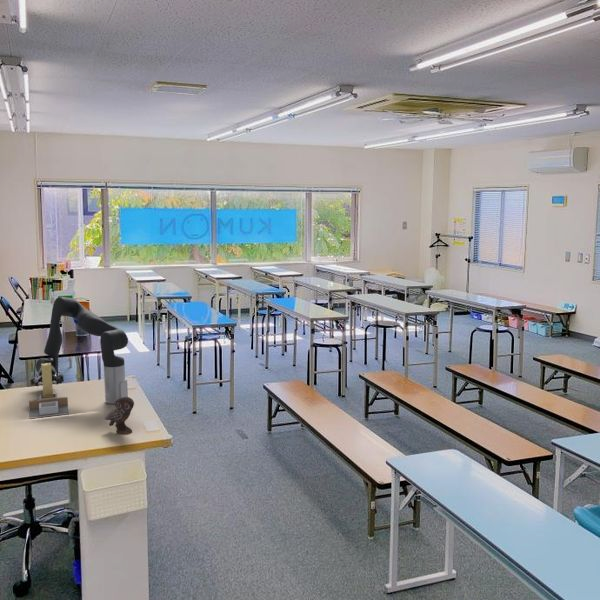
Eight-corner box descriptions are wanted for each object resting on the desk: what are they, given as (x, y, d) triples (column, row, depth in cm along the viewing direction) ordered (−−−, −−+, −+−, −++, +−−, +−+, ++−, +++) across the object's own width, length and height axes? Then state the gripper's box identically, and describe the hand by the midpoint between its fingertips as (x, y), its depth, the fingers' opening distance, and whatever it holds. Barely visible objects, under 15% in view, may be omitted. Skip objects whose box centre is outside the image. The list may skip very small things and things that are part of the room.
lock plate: (30, 403, 289) (29, 393, 289) (67, 398, 295) (66, 390, 295) (28, 419, 267) (28, 409, 267) (69, 414, 273) (68, 404, 272)
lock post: (44, 401, 288) (41, 363, 285) (53, 400, 290) (50, 362, 287) (44, 404, 284) (41, 365, 282) (53, 403, 286) (50, 364, 283)
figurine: (103, 430, 252) (103, 394, 249) (112, 425, 257) (112, 390, 254) (127, 437, 247) (128, 401, 244) (137, 432, 252) (137, 397, 249)
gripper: (30, 368, 296) (29, 376, 281) (62, 365, 301) (63, 373, 286) (31, 383, 297) (30, 393, 282) (63, 380, 302) (64, 389, 287)
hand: (47, 383), depth 284 cm, fingers open, 8 cm apart
